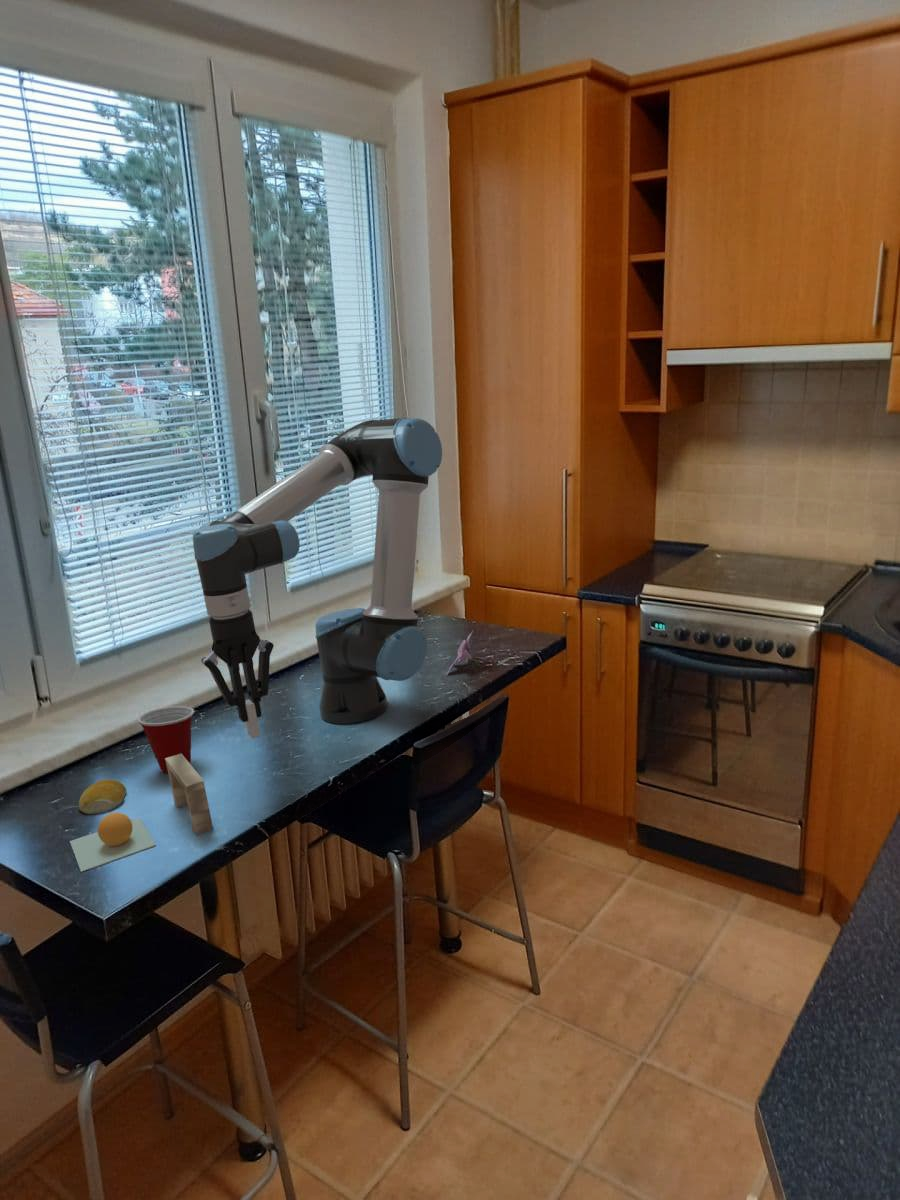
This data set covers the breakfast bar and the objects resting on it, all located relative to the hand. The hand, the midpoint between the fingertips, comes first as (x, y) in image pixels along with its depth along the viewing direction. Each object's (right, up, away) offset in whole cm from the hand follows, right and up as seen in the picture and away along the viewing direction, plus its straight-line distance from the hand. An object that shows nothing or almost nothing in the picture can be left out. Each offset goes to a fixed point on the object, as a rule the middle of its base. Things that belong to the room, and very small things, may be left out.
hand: (254, 735), depth 158 cm
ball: (-21, -14, -11) cm, 28 cm away
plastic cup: (-20, -9, +17) cm, 28 cm away
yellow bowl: (-30, -14, +5) cm, 33 cm away
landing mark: (-22, -17, -10) cm, 30 cm away
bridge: (-10, -14, -4) cm, 18 cm away
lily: (+39, +7, +55) cm, 68 cm away
